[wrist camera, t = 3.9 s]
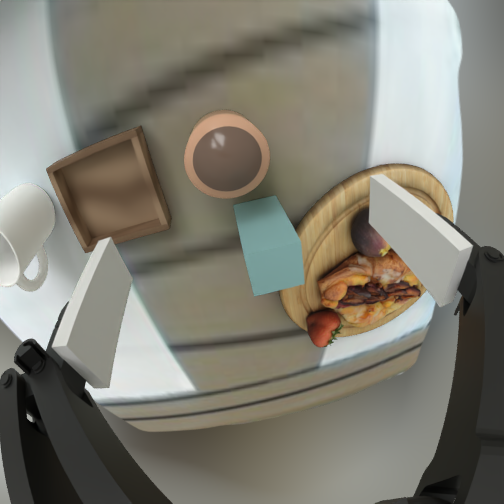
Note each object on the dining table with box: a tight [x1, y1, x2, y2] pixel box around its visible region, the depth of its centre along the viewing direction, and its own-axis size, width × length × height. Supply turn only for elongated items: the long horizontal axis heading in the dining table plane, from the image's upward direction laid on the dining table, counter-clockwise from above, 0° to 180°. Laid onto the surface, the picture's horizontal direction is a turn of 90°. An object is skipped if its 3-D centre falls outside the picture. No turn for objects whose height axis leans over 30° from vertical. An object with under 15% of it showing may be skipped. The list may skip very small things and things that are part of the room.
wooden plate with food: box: [279, 164, 453, 347], centre depth 37 cm, size 32×32×8 cm
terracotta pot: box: [184, 110, 270, 199], centre depth 25 cm, size 7×7×7 cm
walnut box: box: [46, 126, 172, 253], centre depth 27 cm, size 11×11×2 cm
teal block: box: [233, 195, 305, 296], centre depth 29 cm, size 5×5×10 cm
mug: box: [0, 183, 55, 292], centre depth 24 cm, size 12×8×10 cm
